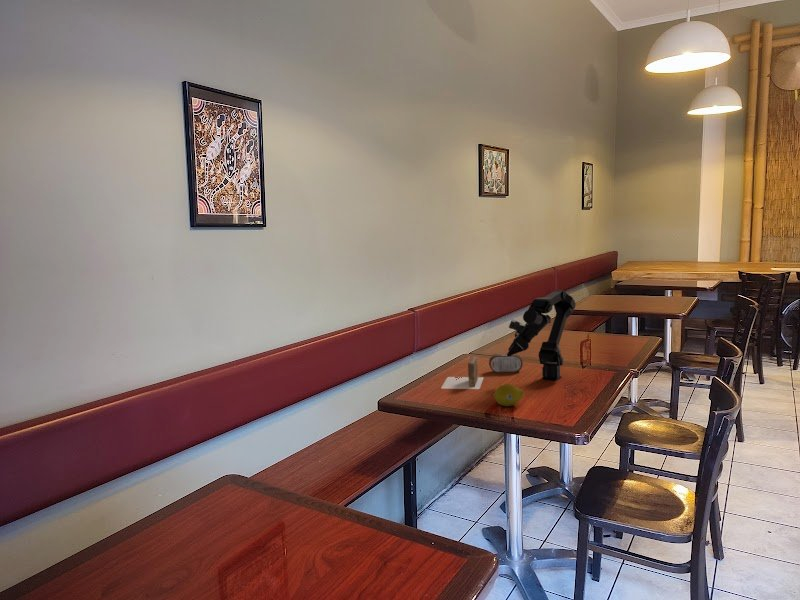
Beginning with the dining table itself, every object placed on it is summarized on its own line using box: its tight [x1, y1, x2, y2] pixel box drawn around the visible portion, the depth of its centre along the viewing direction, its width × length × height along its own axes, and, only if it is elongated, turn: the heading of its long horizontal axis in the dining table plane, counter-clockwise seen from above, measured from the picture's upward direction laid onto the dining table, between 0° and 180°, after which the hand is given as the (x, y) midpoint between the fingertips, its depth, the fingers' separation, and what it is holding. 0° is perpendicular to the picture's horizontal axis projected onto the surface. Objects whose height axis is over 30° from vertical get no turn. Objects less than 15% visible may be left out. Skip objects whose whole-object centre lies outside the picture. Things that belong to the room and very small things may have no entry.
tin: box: [488, 353, 524, 373], centre depth 261 cm, size 15×3×8 cm, turn 84°
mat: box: [440, 376, 484, 390], centre depth 247 cm, size 16×18×1 cm
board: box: [467, 356, 479, 387], centre depth 245 cm, size 2×12×10 cm, turn 166°
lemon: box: [492, 383, 524, 407], centre depth 213 cm, size 11×8×8 cm
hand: (508, 352), depth 240 cm, fingers open, 9 cm apart
